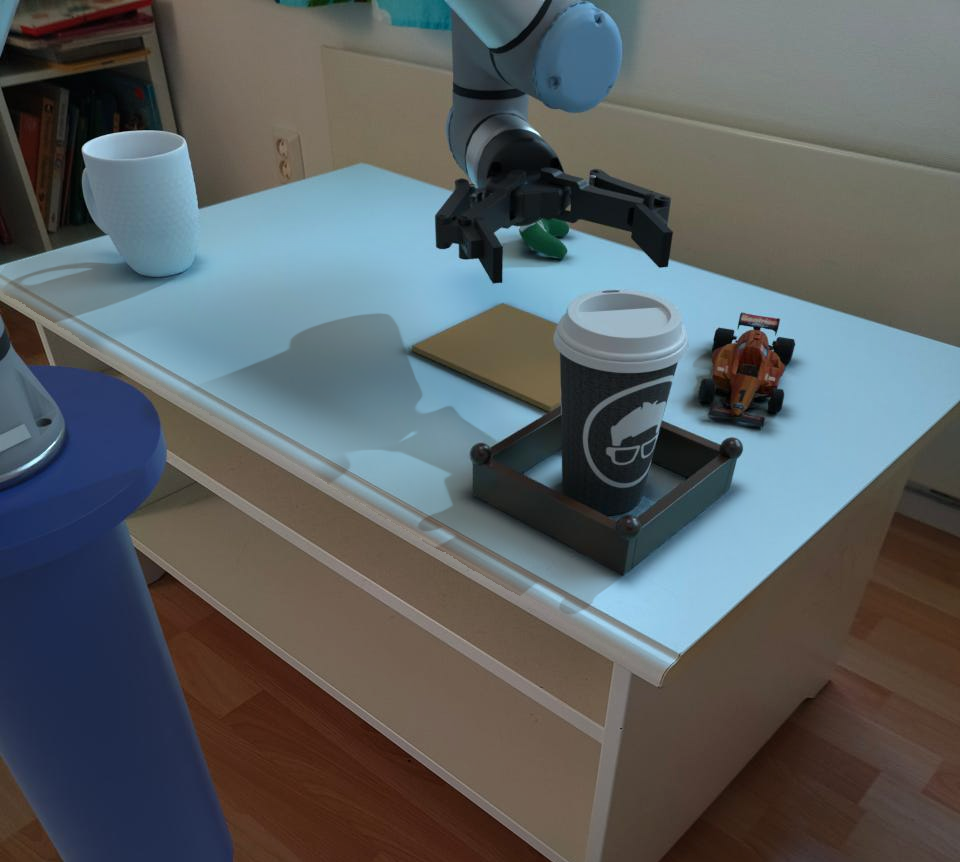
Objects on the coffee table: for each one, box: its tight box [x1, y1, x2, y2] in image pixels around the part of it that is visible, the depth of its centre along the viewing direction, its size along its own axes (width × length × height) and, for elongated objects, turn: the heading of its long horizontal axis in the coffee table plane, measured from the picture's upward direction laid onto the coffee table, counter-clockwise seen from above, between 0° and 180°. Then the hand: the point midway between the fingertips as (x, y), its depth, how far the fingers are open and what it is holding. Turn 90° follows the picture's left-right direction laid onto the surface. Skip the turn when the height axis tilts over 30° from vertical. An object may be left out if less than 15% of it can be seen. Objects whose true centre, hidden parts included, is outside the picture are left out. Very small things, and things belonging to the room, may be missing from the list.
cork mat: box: [411, 302, 561, 413], centre depth 89 cm, size 18×14×1 cm
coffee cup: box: [553, 288, 689, 516], centre depth 67 cm, size 10×10×15 cm
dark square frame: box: [469, 405, 744, 576], centre depth 71 cm, size 16×16×5 cm
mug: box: [81, 129, 200, 278], centre depth 101 cm, size 15×11×13 cm
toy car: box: [698, 312, 796, 428], centre depth 84 cm, size 8×16×4 cm, turn 162°
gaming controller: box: [518, 218, 570, 260], centre depth 109 cm, size 9×4×6 cm
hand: (583, 257), depth 68 cm, fingers open, 13 cm apart
